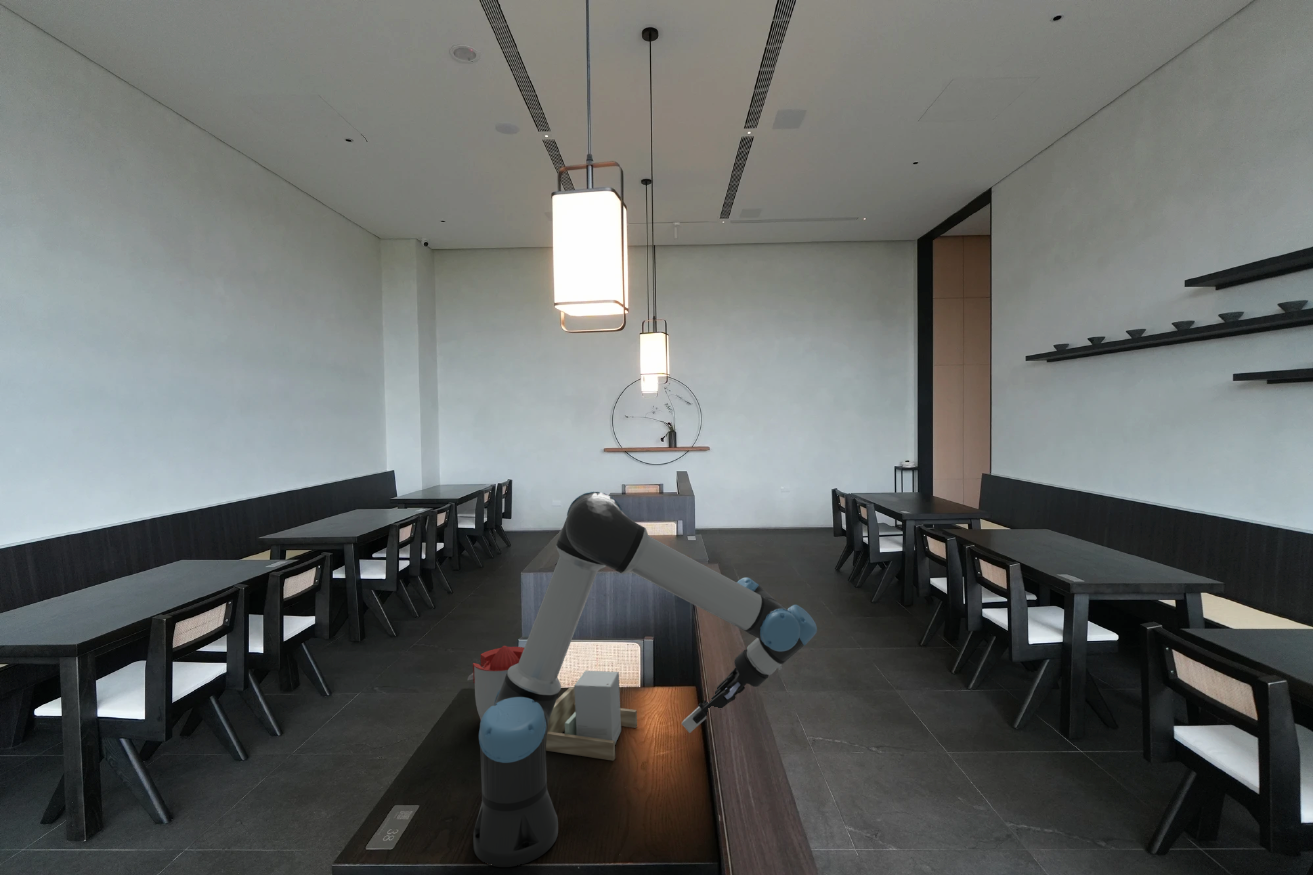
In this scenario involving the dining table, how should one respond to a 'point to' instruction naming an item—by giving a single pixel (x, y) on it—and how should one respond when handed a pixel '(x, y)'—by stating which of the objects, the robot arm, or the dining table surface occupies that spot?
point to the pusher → (571, 725)
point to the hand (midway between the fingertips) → (686, 726)
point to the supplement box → (598, 705)
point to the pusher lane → (580, 743)
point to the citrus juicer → (492, 674)
